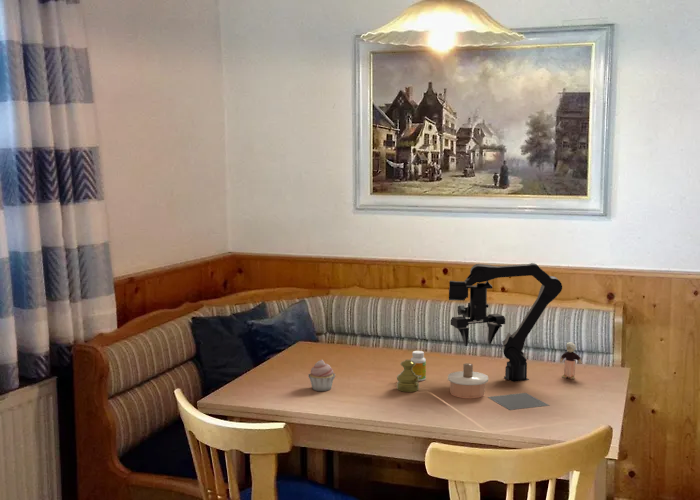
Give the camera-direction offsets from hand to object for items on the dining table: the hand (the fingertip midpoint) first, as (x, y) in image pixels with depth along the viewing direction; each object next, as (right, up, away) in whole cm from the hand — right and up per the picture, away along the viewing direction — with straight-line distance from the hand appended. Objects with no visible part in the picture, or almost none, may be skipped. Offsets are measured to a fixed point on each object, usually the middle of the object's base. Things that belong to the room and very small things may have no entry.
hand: (477, 344), depth 272 cm
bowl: (-6, -14, -17) cm, 23 cm away
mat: (+8, -15, -26) cm, 31 cm away
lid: (-6, -9, -18) cm, 21 cm away
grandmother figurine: (+33, -12, +2) cm, 35 cm away
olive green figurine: (-25, -14, -11) cm, 31 cm away
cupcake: (-54, -14, -10) cm, 57 cm away
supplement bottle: (-21, -12, +1) cm, 24 cm away
